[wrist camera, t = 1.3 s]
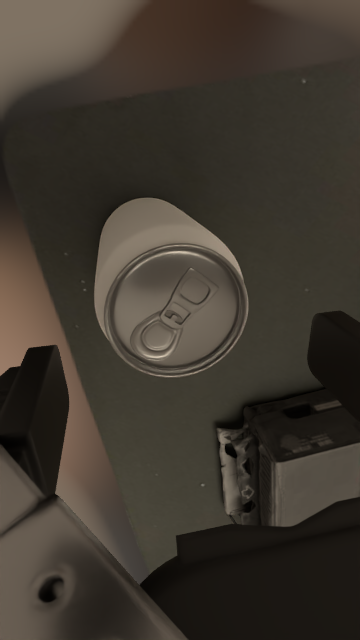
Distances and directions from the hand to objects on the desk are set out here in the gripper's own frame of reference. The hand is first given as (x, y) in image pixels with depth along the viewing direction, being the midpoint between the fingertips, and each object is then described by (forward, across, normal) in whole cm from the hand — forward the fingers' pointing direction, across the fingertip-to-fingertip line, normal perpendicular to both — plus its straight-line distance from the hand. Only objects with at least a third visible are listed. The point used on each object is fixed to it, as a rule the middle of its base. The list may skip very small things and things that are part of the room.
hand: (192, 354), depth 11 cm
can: (+15, 0, 0) cm, 15 cm away
